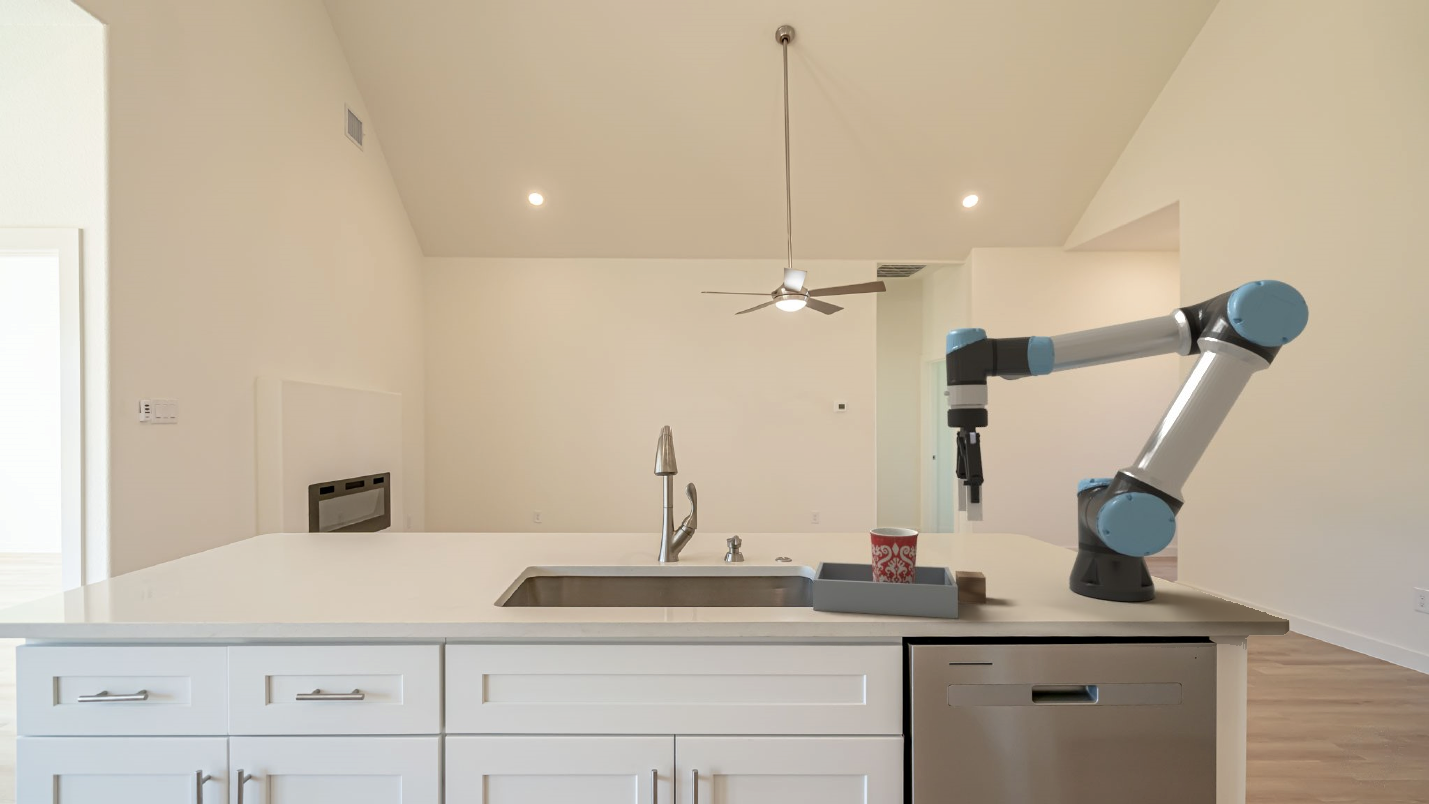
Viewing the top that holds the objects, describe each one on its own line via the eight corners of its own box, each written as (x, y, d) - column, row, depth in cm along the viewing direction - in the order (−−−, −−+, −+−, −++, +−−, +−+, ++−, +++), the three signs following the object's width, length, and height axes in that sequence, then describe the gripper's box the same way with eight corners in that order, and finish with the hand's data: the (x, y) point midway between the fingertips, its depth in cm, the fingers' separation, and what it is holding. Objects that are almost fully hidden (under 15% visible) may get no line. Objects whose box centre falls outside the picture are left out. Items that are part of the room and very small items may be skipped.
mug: (922, 609, 130) (922, 535, 130) (872, 608, 131) (872, 534, 131) (911, 592, 142) (911, 525, 142) (865, 591, 143) (865, 524, 144)
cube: (982, 597, 141) (981, 572, 141) (986, 603, 136) (985, 577, 136) (955, 596, 142) (955, 571, 142) (958, 602, 137) (958, 576, 137)
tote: (948, 595, 142) (948, 567, 142) (957, 618, 126) (957, 586, 126) (820, 588, 148) (819, 561, 148) (813, 610, 132) (813, 579, 132)
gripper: (941, 408, 153) (943, 507, 152) (954, 407, 128) (957, 524, 128) (977, 407, 151) (980, 507, 151) (998, 406, 127) (1001, 525, 126)
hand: (969, 515), depth 139 cm, fingers open, 13 cm apart
